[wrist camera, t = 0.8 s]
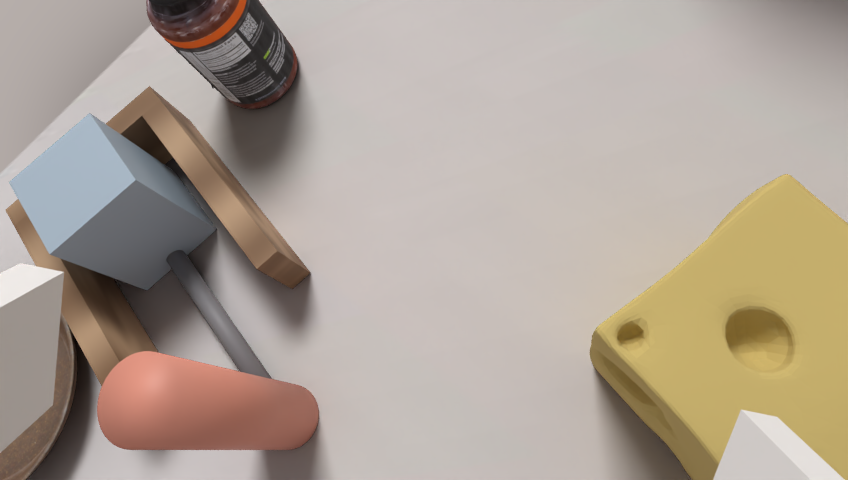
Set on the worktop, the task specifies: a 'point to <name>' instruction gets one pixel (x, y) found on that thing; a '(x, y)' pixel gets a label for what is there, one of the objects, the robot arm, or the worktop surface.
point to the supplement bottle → (229, 46)
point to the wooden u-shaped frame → (178, 138)
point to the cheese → (742, 333)
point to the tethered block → (142, 267)
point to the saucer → (44, 416)
